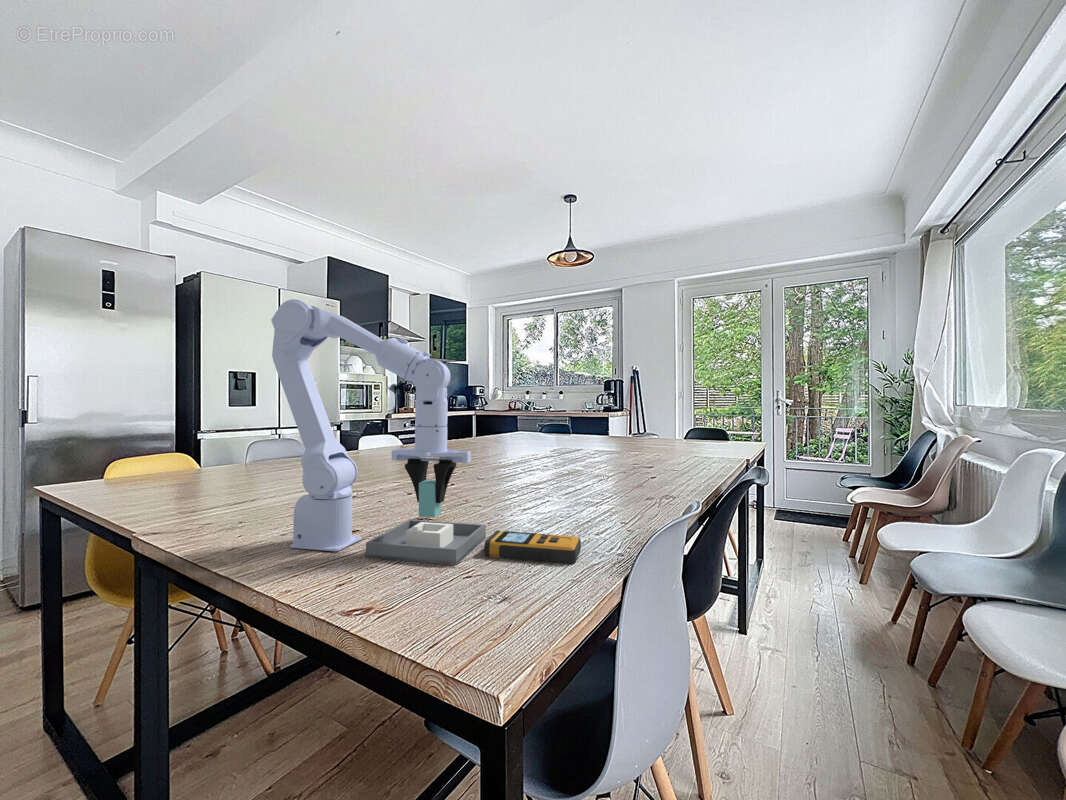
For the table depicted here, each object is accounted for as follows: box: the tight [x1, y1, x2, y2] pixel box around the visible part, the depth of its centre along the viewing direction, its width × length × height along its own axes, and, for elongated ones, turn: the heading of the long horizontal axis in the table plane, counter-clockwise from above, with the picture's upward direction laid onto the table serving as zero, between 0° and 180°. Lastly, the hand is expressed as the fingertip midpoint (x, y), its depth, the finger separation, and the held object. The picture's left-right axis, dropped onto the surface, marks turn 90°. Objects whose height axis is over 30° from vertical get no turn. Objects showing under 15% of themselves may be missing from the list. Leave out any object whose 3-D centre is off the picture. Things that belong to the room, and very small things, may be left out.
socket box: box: [365, 519, 487, 566], centre depth 88 cm, size 16×16×4 cm
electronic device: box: [483, 530, 582, 565], centre depth 85 cm, size 8×16×3 cm, turn 77°
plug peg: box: [418, 479, 442, 519], centre depth 88 cm, size 3×3×6 cm
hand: (430, 501), depth 88 cm, fingers closed on plug peg, 3 cm apart
